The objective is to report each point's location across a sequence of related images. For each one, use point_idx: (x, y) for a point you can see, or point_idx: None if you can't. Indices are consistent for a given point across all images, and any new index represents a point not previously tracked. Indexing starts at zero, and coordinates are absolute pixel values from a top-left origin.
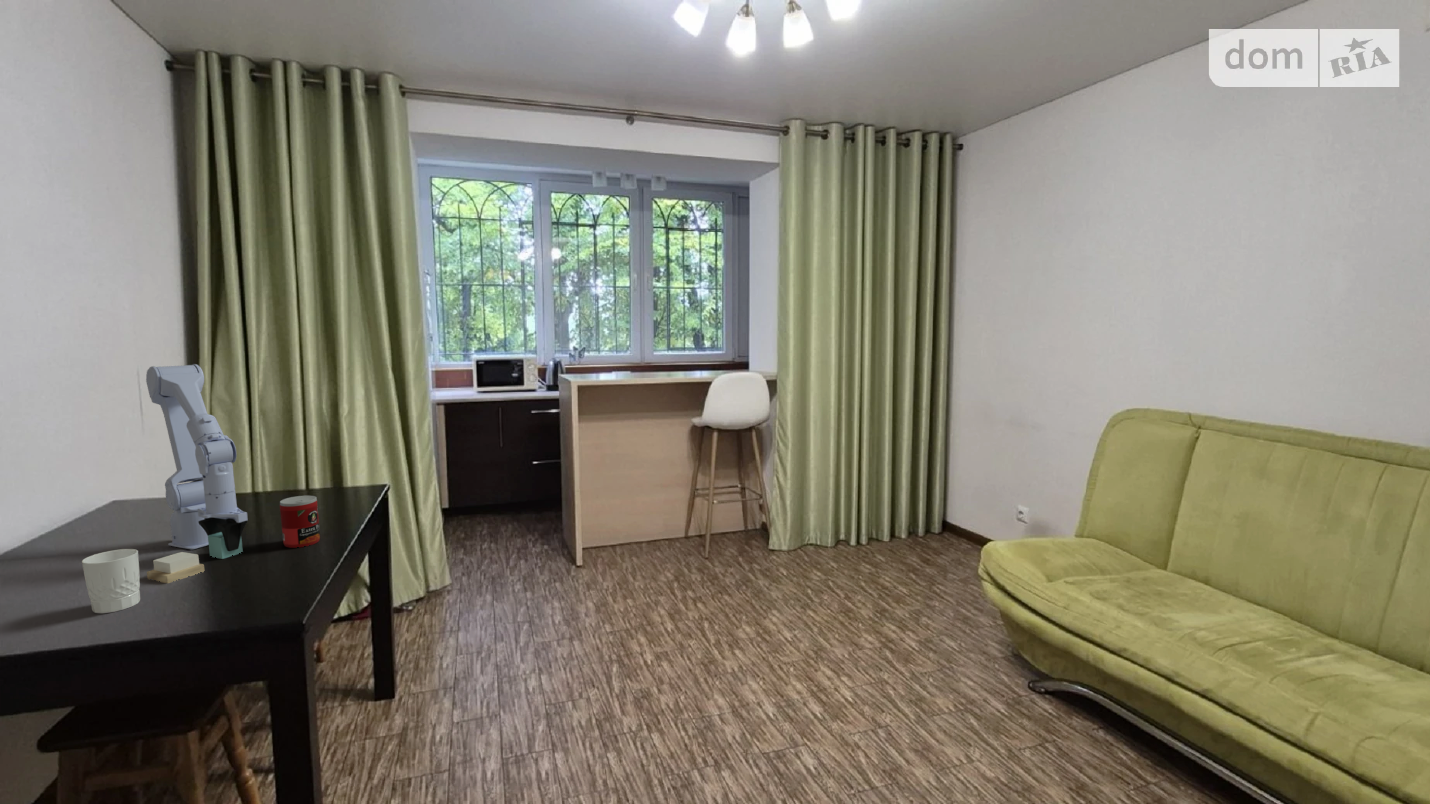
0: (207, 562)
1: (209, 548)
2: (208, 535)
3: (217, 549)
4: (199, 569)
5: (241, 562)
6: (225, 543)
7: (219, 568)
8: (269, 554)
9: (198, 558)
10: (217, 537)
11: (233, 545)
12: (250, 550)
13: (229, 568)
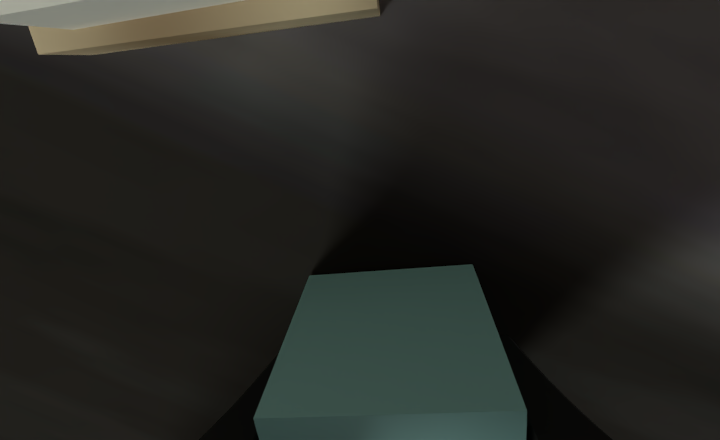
0: (336, 184)
1: (482, 304)
2: (575, 427)
3: (354, 314)
4: None
5: (107, 292)
6: None
7: (82, 154)
8: (139, 435)
9: (15, 22)
10: (313, 416)
11: None
12: None
13: (22, 189)
